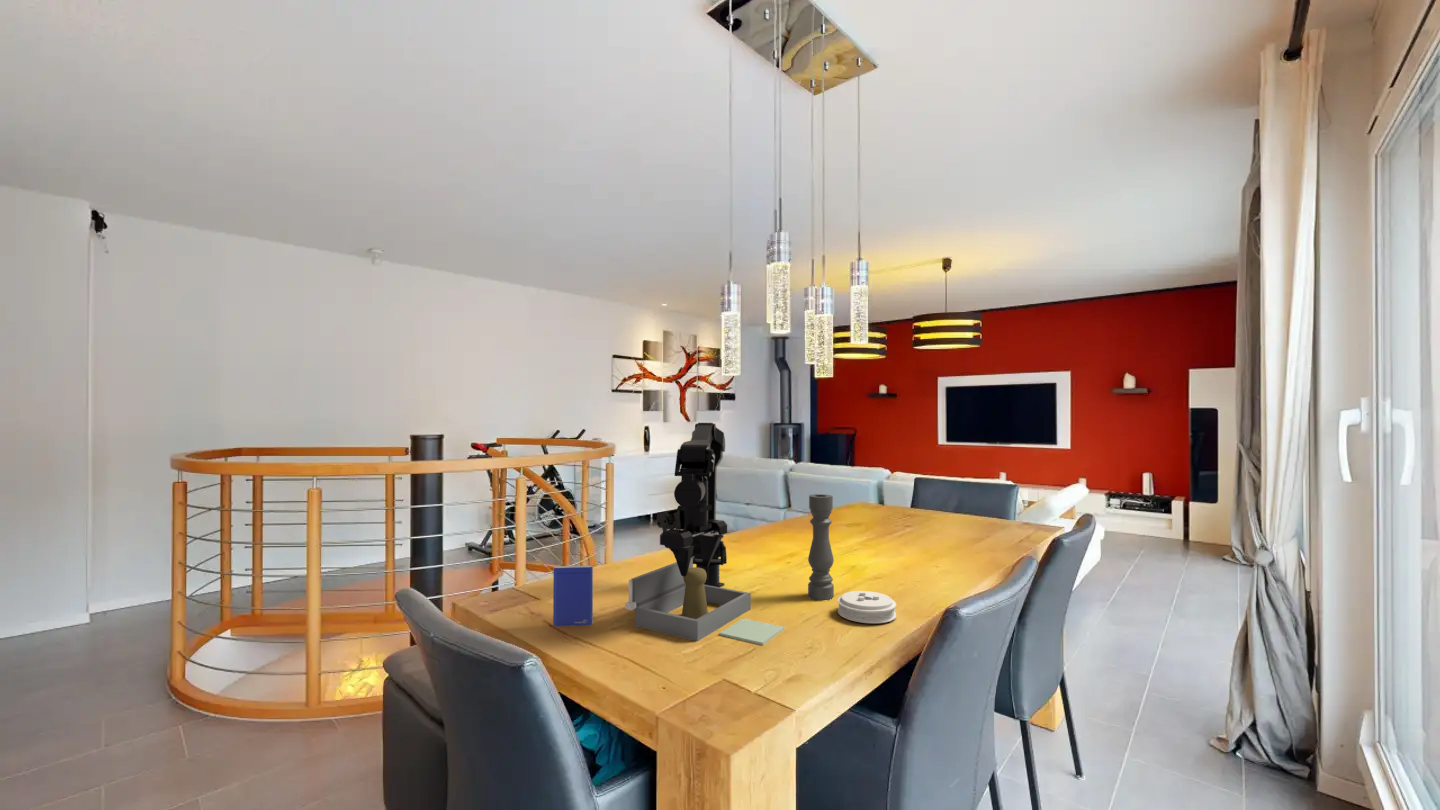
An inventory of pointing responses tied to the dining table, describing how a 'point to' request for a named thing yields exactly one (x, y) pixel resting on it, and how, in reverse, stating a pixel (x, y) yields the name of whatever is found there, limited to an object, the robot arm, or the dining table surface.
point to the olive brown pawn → (695, 593)
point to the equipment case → (680, 604)
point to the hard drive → (573, 595)
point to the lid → (867, 607)
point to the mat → (752, 631)
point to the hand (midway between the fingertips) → (694, 571)
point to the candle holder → (820, 548)
